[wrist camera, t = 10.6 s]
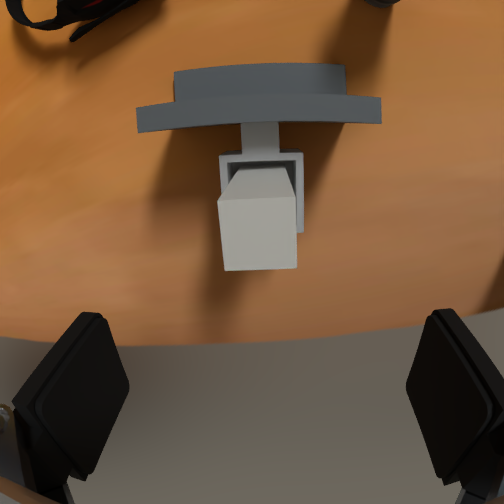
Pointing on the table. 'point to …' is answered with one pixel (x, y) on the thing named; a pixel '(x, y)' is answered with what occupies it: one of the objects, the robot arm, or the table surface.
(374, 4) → the beverage cup
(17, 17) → the headset
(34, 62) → the table surface
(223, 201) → the rail
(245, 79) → the bracket
